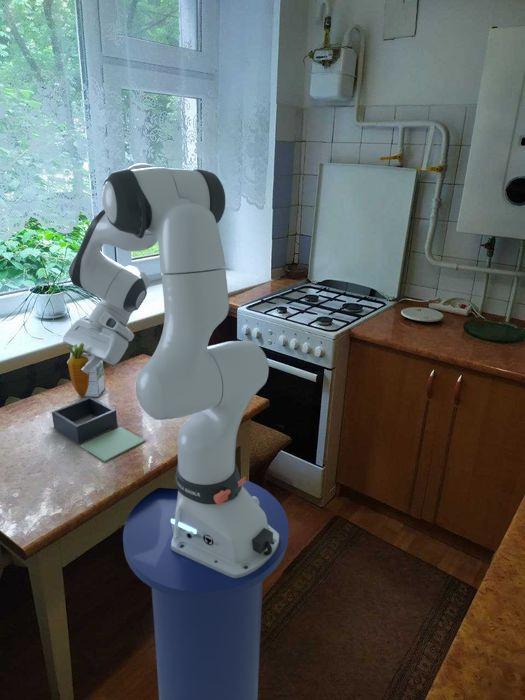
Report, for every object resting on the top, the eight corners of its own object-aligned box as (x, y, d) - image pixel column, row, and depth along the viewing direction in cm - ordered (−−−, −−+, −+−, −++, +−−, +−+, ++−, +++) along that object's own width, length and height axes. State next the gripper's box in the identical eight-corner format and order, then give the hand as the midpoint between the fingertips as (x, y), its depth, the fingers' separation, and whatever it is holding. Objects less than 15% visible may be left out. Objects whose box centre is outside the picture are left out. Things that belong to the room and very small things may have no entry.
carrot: (68, 400, 127) (61, 345, 121) (80, 391, 131) (74, 339, 126) (84, 403, 126) (78, 348, 120) (96, 394, 130) (90, 341, 124)
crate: (117, 426, 133) (116, 410, 131) (78, 444, 124) (76, 427, 123) (92, 412, 139) (90, 396, 138) (53, 428, 131) (51, 411, 129)
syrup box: (87, 387, 153) (82, 344, 148) (105, 388, 153) (101, 345, 148) (80, 396, 148) (74, 351, 143) (99, 397, 148) (95, 352, 142)
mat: (145, 441, 127) (144, 440, 127) (104, 462, 118) (104, 460, 118) (120, 427, 132) (120, 426, 132) (80, 446, 124) (80, 445, 123)
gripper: (75, 308, 132) (45, 352, 128) (122, 325, 120) (91, 374, 117) (91, 320, 137) (63, 363, 133) (138, 337, 125) (109, 385, 122)
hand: (76, 368), depth 125 cm, fingers closed on carrot, 4 cm apart
